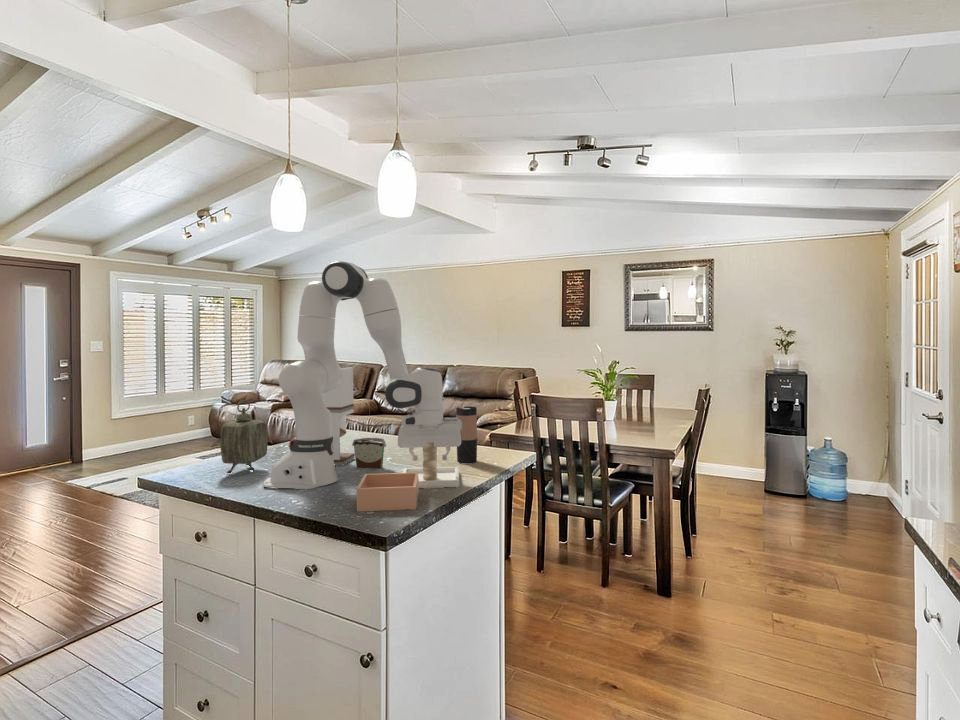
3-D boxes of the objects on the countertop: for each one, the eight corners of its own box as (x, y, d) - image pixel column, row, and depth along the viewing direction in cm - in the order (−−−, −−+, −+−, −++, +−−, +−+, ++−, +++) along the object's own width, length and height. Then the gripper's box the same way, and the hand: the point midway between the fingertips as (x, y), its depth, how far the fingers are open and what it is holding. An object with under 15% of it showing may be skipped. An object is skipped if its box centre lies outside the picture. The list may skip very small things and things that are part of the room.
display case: (342, 465, 193) (340, 368, 192) (314, 464, 195) (312, 369, 194) (354, 458, 205) (352, 367, 203) (328, 457, 206) (326, 367, 205)
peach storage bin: (356, 511, 141) (356, 488, 141) (365, 494, 157) (364, 474, 157) (416, 509, 143) (415, 487, 142) (418, 492, 158) (418, 472, 158)
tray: (400, 489, 162) (399, 482, 162) (404, 474, 180) (403, 468, 180) (459, 487, 163) (459, 480, 163) (457, 472, 181) (457, 466, 181)
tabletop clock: (246, 466, 194) (244, 397, 193) (269, 467, 192) (268, 397, 191) (221, 476, 179) (219, 402, 178) (246, 477, 178) (244, 402, 177)
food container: (391, 465, 192) (391, 438, 192) (385, 469, 186) (384, 441, 186) (360, 464, 195) (359, 437, 195) (352, 468, 189) (352, 440, 189)
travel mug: (475, 464, 193) (474, 409, 192) (454, 463, 194) (453, 408, 194) (479, 459, 200) (478, 406, 200) (459, 459, 202) (458, 406, 201)
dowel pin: (423, 480, 169) (422, 443, 169) (423, 477, 173) (422, 440, 173) (437, 480, 169) (436, 442, 169) (437, 476, 174) (436, 440, 173)
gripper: (461, 415, 175) (462, 457, 175) (398, 416, 173) (399, 459, 174) (462, 418, 168) (462, 462, 169) (396, 419, 167) (397, 463, 167)
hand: (430, 460), depth 171 cm, fingers open, 8 cm apart
